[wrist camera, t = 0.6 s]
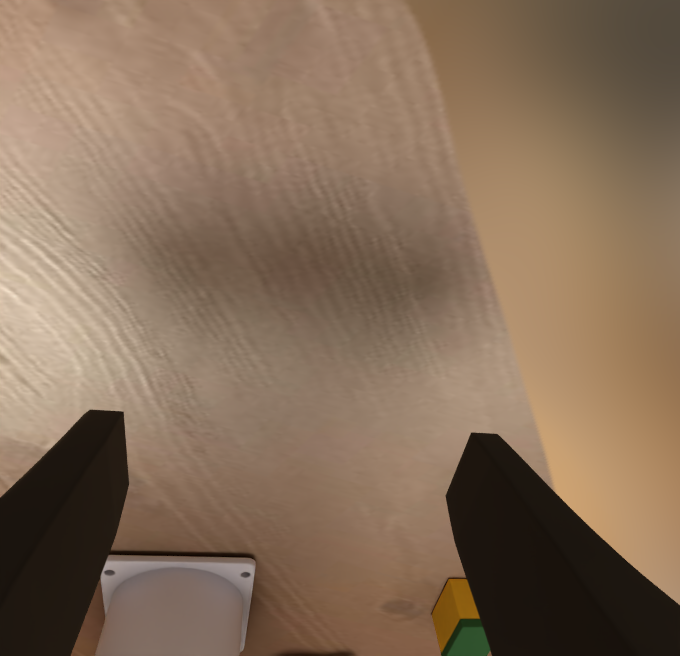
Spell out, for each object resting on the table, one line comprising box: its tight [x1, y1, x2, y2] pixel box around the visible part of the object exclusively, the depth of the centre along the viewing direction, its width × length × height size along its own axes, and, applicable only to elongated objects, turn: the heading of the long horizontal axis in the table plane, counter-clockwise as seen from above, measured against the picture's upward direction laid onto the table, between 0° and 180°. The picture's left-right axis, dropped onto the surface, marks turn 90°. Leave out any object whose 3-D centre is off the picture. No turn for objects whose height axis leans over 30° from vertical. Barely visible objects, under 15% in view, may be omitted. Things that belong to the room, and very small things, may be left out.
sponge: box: [432, 579, 490, 656], centre depth 30 cm, size 4×3×3 cm, turn 170°
